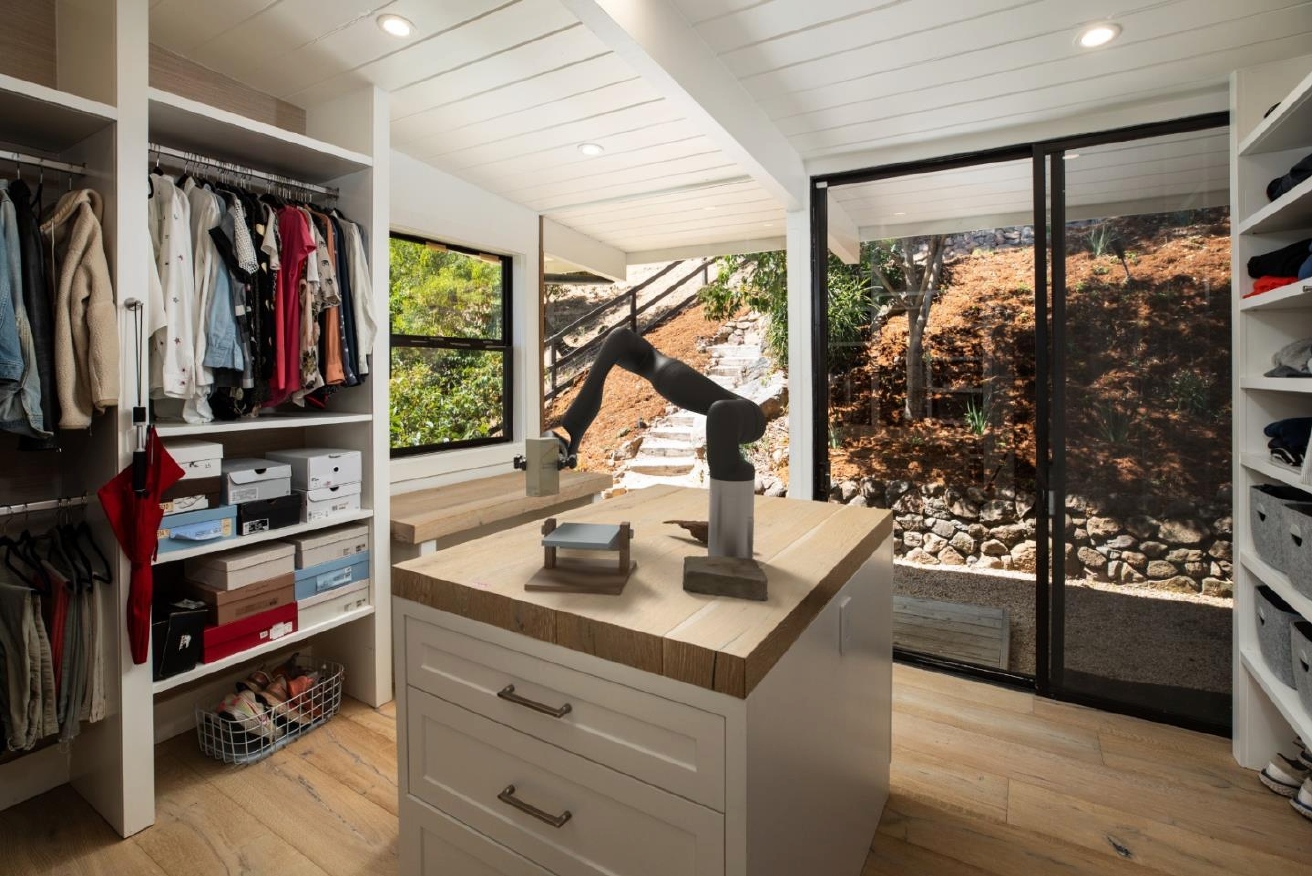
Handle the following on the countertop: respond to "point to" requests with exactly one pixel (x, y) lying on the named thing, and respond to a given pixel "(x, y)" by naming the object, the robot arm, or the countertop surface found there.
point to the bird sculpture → (694, 528)
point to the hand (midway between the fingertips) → (541, 465)
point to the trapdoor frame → (584, 568)
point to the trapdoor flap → (584, 537)
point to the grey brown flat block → (725, 577)
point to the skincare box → (542, 467)
